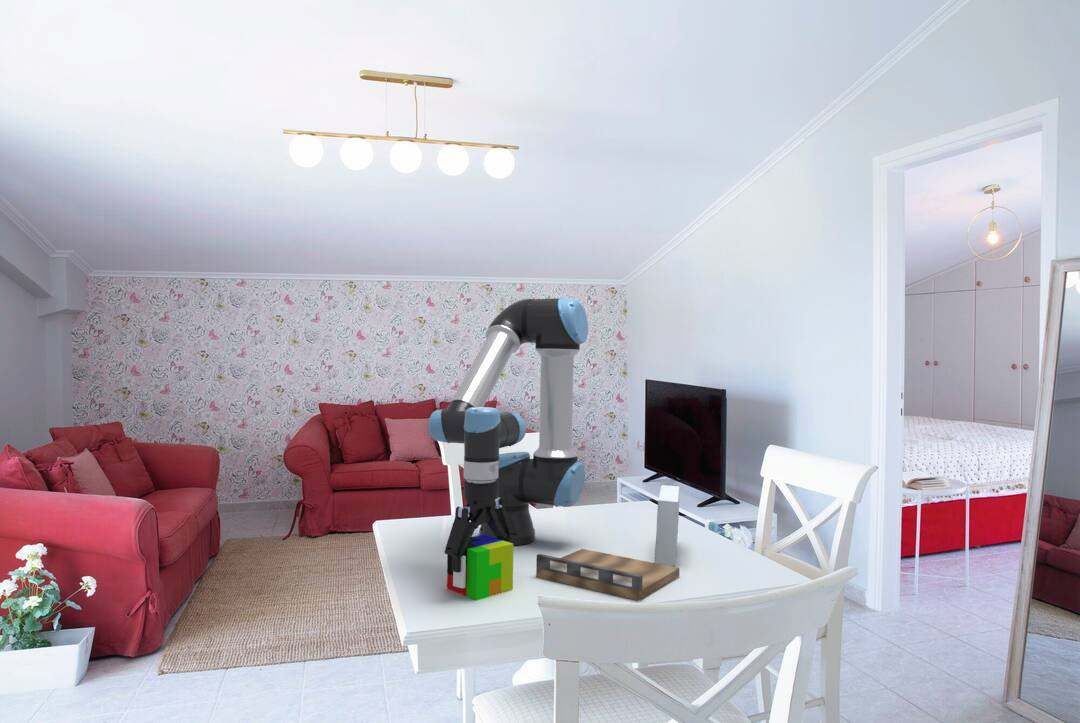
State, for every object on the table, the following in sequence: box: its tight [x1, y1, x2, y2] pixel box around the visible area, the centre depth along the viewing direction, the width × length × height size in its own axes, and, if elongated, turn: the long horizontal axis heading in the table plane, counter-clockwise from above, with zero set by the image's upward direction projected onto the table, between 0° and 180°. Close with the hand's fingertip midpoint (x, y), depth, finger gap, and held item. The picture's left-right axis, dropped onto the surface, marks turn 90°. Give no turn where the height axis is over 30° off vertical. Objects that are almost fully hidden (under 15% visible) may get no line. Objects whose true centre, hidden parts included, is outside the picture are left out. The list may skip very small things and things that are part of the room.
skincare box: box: [653, 484, 680, 567], centre depth 186 cm, size 21×6×16 cm, turn 168°
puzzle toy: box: [446, 534, 514, 601], centre depth 158 cm, size 10×10×10 cm
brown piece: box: [535, 548, 680, 601], centre depth 167 cm, size 26×20×5 cm
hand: (480, 578), depth 158 cm, fingers open, 13 cm apart
